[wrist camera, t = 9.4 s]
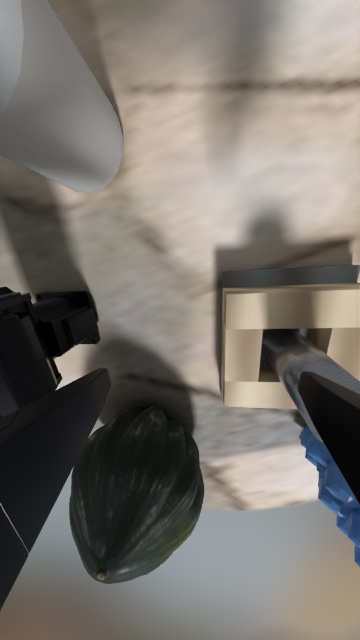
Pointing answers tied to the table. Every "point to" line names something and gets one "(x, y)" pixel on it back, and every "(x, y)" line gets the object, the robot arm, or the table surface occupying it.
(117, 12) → the table surface
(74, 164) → the can
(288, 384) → the peg
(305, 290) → the socket
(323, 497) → the grapes
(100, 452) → the squash
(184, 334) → the table surface
